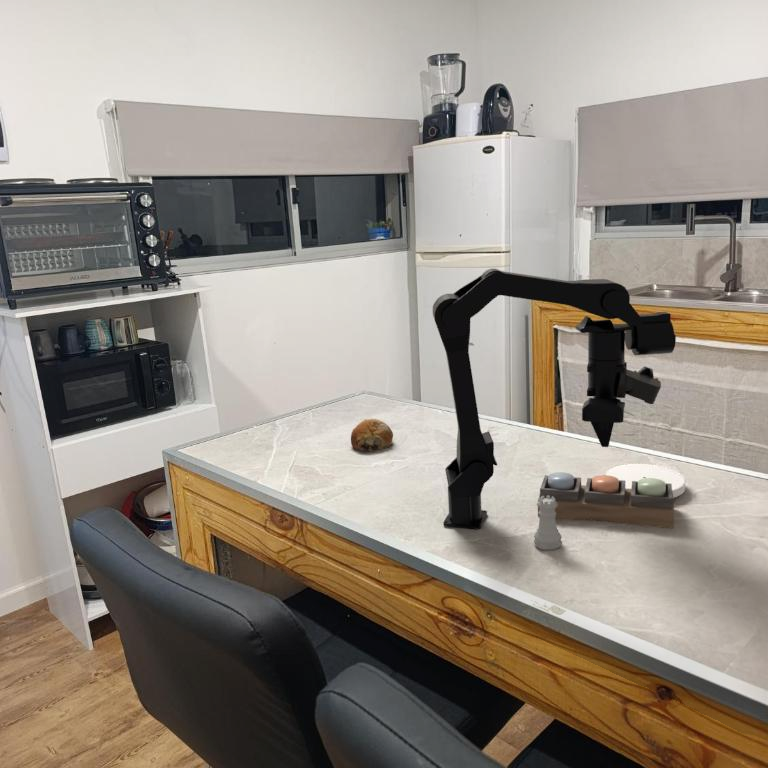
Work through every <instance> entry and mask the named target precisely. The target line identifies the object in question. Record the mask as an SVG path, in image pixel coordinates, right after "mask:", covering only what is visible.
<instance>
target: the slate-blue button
mask: <svg viewBox="0 0 768 768" xmlns="http://www.w3.org/2000/svg"><path fill="white" fill-rule="evenodd" d="M547 476H548V488H550V489H563V490H573V489H574V475H573V474H571V473H568V472H558V471H557V472H553V473H550V474H548V475H547Z"/></svg>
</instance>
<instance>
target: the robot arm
mask: <svg viewBox="0 0 768 768" xmlns="http://www.w3.org/2000/svg"><path fill="white" fill-rule="evenodd" d="M498 296H504V297H510V298H518V299H522V300H523V299H525V300H532V301H538V302H545V303H552V304H556V305H564V306H565V305H566V306H569V307H571V308H574V309H578V310H580V311H584V312H586V313H589V314H591V315H595V316H598V317H600V318H604V319H595V320H593V319H592V318H591V317H589V316H588V315H585V316H584V318H583V319H582V320H581V321H580V322H579V323H578V324H576V325H575V329H576V331H578V332H580V333H581V334H586V333H587V335H588V337H587V339H588V341H587V342H588V344H587V345H588V346H587V347H588V350H587V351H588V353H587V354H588V357H587V358H588V361H587V365H586V372H587V373H588V374H587V389H586V397H590V398H588V399H587V400H586V401H585V402H584V403H583V405H582V408H581V411H582V412H581V419H582V421H583V422H585V423H586V422H590V424H591V427H592V428H593V430H594V432H595V436H597V439H598V441H599V444H600V446H601V447H602V448H609V445H610V442H611V437H612V432H613V429H614V426H615V425H614V424H620V423H624V417H625V406H626V402H625V401H621V399H625V398H626V396H627V395H628V396H630V397H633V398H636V399H637V400H642V401H643V402H644V403H645V404H649V405H654V404H655V402H656V399H657V397H658V394H659V392H660V389H661V387H662V383H661V381H660V380H659V378H657V377H656V378H655V377H654V370H653V368H651V367H648V366H643V367H641V368H640V370H630V369H627V364H628V362H626V360H625V352H626V351H625V350H626V349H627V350H629V351H630V350H631V351H632V354H633V355H634V356H647V355H648V356H649V355H651V356H652V355H663V354H672V353H673V351H675V347H676V343H677V342H676V341H677V340H676V339H677V336H676V334H675V329H674V325H673V322H672V321H671V320H672V319H671V318H672V316H671V313H669V312H667V311H659V312H655V313H647V314H646V313H645V314H644V313H643V314H638V312H637V311H636V309H635V308H634V307H633V306H632V304H631V303H630V301H631V297H630V294H629V291H628V290H627V288H626V286H624V285H623V284H620V283H618V282H616V281H613V280H609V279H608V278H607V279H606V278H597V279H593V278H590V279H588V278H587V279H579V280H578V279H576V280H563V279H556V278H549V277H543V276H536V275H530V274H522V273H518V272H509V271H503V270H500V269H498V268H489V269H487V270H485V271H484V272H482V274H481V275H480V276H478V277H477V278H475V279H473V280H472V281H469V282H467V284H465V285H463V286H462V287H459V289H457V290H456V291H455V292H453V293H444V294H442V295H441V296H439V297H437V299H436V300H435V301H434V303H433V305H432V317H433V319H434V322H435V325H436V328H437V331H438V334H439V337H440V339H441V341H442V345H443V347H444V350H445V355H446V361H447V367H448V373H449V379H450V385H451V392H452V397H453V403H454V409H455V416H456V422H457V435H456V437H457V438H456V457H455V458H454V459H453V460H452V461H451V462H450V463H449V464H448V465H446V467H445V477H446V481H447V485H448V486H447V501H448V514H447V516H446V517H445V519H444V521H442V523H443V526H446V527H453V528H454V527H456V528H465V529H467V528H468V529H475V530H476V529H481V527H482V524H483V523H484V521H485V519H486V517H487V515H488V511H487V510H484V509H482V491H483V489H484V485H485V483H487V482H488V481H489V480H491V478H492V477H493V476H494V471H495V469H494V467H495V466H498V462H497V460H496V457H495V455H494V454H495V453H494V451H495V448H494V447H495V443H494V440H493V438H492V435H491V433H490V431H486V432H482V429H481V424H480V417H479V412H478V404H477V398H476V391H475V387H474V385H475V384H474V379H473V372H472V365H471V360H470V352H469V350H470V349H469V348H470V338H471V319H472V318H473V317H475V316H476V315H477V314H478V313H480V312H481V311H483V309H485V307H486V306H488V305H489V304H490V303H491V302H492V301H493V300H495V299H496V298H497V297H498ZM615 319H617V320H619V321H622V322H623V323H613V321H612V320H615ZM625 348H626V349H625Z"/></svg>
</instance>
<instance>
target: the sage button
mask: <svg viewBox="0 0 768 768" xmlns="http://www.w3.org/2000/svg"><path fill="white" fill-rule="evenodd" d="M665 493H666V483H665V482H664V481H662V480H659V479H655V478H644V479H641V480H639V481H638V495H646V496H659V497H665Z"/></svg>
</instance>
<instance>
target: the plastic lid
mask: <svg viewBox="0 0 768 768" xmlns="http://www.w3.org/2000/svg"><path fill="white" fill-rule="evenodd" d="M604 475H609V476H613V477H616V478H617V479H618V480H622V481H625V488H626V489H632V481H637V482H638V481H639V480H641V479H644V478H655V479H659V480H662V481H664V482H665V483H667V484H672V492H673V499H675V498H677V497H679V496H681V495H682V494H683V493H684V492H685V491H686V478H685V477H684V476H683V475H682V474H681V473H679V472H678V471H677V470H674V469H672V468H669V467H666V466H661V465H656V464H655V465H654V464H650V463H649V464H647V463H629V464H621V465H617V466H615V467H612V468H609V469H608V470H607V471H606V472H605V474H604Z"/></svg>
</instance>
